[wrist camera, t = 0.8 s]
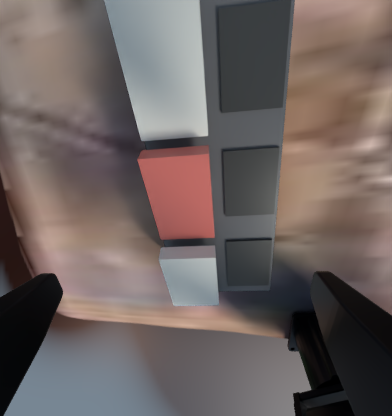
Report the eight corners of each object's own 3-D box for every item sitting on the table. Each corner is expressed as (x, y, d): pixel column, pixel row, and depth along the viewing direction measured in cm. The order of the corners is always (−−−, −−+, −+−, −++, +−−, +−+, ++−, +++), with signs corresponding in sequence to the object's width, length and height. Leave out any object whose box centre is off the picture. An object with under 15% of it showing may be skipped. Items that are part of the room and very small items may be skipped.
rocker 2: (218, 293, 19) (218, 305, 18) (175, 294, 19) (173, 306, 18) (214, 245, 15) (215, 257, 14) (161, 247, 15) (158, 259, 15)
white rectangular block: (208, 128, 13) (208, 135, 12) (145, 133, 13) (141, 141, 12) (198, -23, 9) (197, -27, 8) (109, -10, 9) (100, -13, 8)
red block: (214, 227, 16) (214, 237, 15) (163, 229, 16) (160, 239, 15) (208, 145, 12) (208, 153, 11) (141, 150, 12) (137, 159, 12)
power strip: (260, 258, 22) (272, 298, 18) (179, 260, 23) (172, 300, 19) (274, 4, 13) (303, -33, 9) (141, 22, 14) (111, -5, 10)
